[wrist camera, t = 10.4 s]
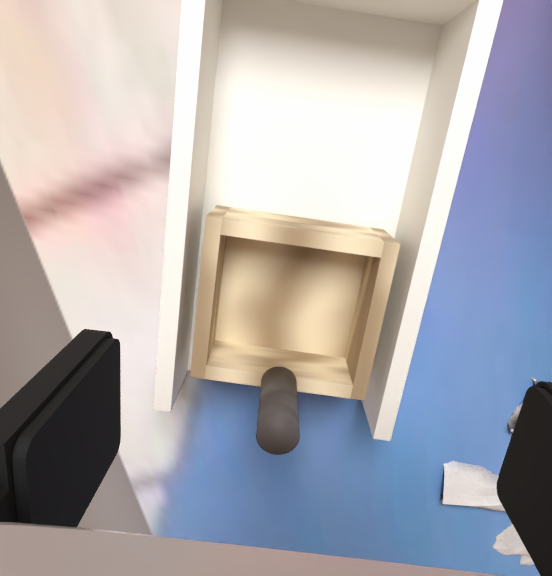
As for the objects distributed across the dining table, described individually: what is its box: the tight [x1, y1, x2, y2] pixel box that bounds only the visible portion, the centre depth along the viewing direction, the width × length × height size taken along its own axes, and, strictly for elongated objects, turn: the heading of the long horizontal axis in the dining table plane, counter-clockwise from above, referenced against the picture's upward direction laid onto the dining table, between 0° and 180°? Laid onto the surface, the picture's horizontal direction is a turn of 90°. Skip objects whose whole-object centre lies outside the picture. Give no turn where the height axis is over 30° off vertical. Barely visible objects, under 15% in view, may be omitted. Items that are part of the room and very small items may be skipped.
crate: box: [190, 205, 400, 455], centre depth 30 cm, size 12×12×11 cm
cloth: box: [440, 377, 537, 565], centre depth 40 cm, size 20×22×2 cm
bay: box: [153, 0, 503, 441], centre depth 31 cm, size 16×28×7 cm, turn 172°
